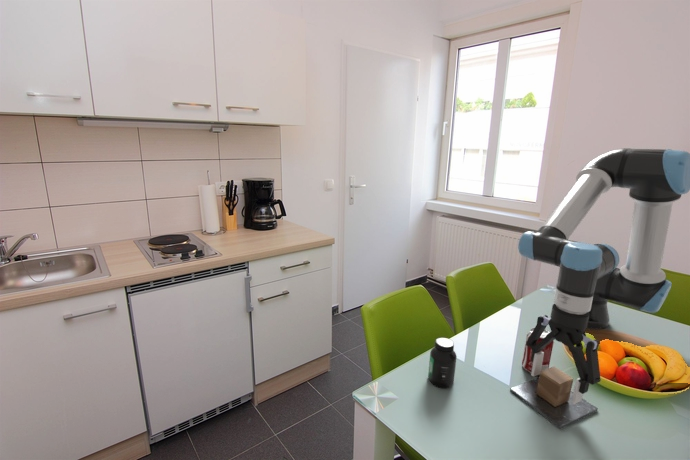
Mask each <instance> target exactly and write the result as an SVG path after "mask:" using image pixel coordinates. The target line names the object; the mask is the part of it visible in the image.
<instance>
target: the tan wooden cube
mask: <svg viewBox="0 0 690 460" xmlns="http://www.w3.org/2000/svg"><path fill="white" fill-rule="evenodd" d="M538 376H539V381H538V386H537V392H536V394H538V395H539V396H540V397H542V398H543V399H545V400H546V401H547V402H549V403H550V404H552V405H553V406H554V407H556V406H558V405H561V404H563V403H565V402H567V401H569V397H570V392H571V391H572V386H573V382H574V380H575V379H574V378H573V377H572V376H571V375H569V374H567V373H566V372H563V370H560V369H559V368H558V367H556V366H552V367H549V368H548V369H545V370H543V371H540V375H538Z"/></svg>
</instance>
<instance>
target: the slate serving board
mask: <svg viewBox="0 0 690 460" xmlns="http://www.w3.org/2000/svg"><path fill="white" fill-rule="evenodd" d="M538 381H539V377H536V378H534V379H531V380H528V381H526V382H523V383H521V384H517V385H515V386H512V387H510V389H509V392H511V393H512V394H513V395H515V396H516V397H517V396H518V397H517V398H519V399H520V400H521V401H522V402H524V403H525V404H527V405H528V406H530V408H531V409H533V410H534V411H535V412H537V413H538V414H540V415H541V416H542V417H543V418H545V419H546V420H548V421H549V422H550V423H552V424H553V425H554V426H556V427H557V428H558V429H559V430H563V429H564V428H566V427H568V426H571V425H572V424H574V423H576V422H578V421H580V420H582V419H584V418H586V417H589V416H590V415H592V414H594V413H596V412H598V409H599V408H598V407H597V406H595V405H593V404H592V403H590V402H589V401H587V400H585V399H584V398H583V397H582V400H581V401H580V402H578V403H576V404H573V403H572V402H571V400H572V396H573V391H572V390H571V392H570V397H569V401H567V402H565V403H563V404H561V405H558V406H556V407H554V406H553V405H552V404H550V403H549V402H547V401H546V400H545V399H543V398H542V397H540V396H539V395H538V394H536V392H537V386H538Z"/></svg>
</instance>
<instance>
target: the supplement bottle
mask: <svg viewBox="0 0 690 460" xmlns="http://www.w3.org/2000/svg"><path fill="white" fill-rule="evenodd" d="M454 347H455V342H454V341H453V340H452V339H450V338H447V337H444V336H443V337H438V338H436V339H435V342H434V346H433V347H432V348H431V350H430V353H429V362H428V363H429V364H428V372H427V374H428V375H427V379H428V381H429V383H430V384H432V386H434V387H436V388H438V389H448V388H451V387H452V386H453V385H454V382H455V375H456V365H457V353H456V351H455V348H454Z"/></svg>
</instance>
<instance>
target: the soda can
mask: <svg viewBox="0 0 690 460" xmlns="http://www.w3.org/2000/svg"><path fill="white" fill-rule="evenodd" d="M534 328H535V327H532V328H530V330H529V332H527V334H526V338H525V344H524V350H523V355H522V360H521V366H522V368H523V369H524V370H525V371H526V372H529V373H530V374H531V372H532V366H533V362H532V361H531V356H532V349H531V348H530V347H528V346H527V345H526V342H527V340H528V339H529V337H530V335H531V333H532V332H533V330H534ZM550 332H551V331H548V330H547V329H545V330H544V331H543V333H542V335H541V336H540V338H539V340H538V341H537V343H539V342H540V341H541V340H542V339H544V338H545V337H546V335H548V334H549V333H550ZM537 343H536V344H537ZM554 343H555V342H554V340H553V341H552V342H551V343H550V344H548V345H547V346H546V347H545V348H543V350H540V352H541V351H542V352H544V357H543V362H542V368H541V371H543V370H545V369H548V368H550V362H551V358H552V353H553V347H554ZM538 376H540V374H539V375H538Z"/></svg>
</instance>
